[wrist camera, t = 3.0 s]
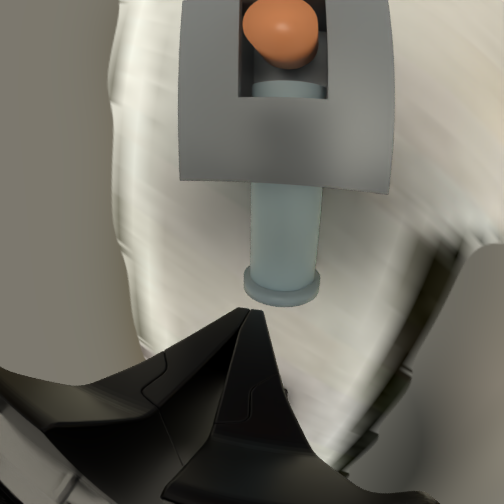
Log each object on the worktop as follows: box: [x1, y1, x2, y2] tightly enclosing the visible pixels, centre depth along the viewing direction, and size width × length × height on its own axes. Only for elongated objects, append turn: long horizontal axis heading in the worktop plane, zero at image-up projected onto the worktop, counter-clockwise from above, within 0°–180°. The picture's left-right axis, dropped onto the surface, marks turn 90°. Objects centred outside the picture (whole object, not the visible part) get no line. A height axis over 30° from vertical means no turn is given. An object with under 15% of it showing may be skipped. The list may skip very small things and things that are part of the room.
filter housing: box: [178, 0, 395, 195], centre depth 13 cm, size 10×10×6 cm
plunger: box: [243, 0, 319, 69], centre depth 10 cm, size 3×3×3 cm
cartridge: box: [244, 80, 326, 307], centre depth 16 cm, size 12×5×5 cm, turn 0°
